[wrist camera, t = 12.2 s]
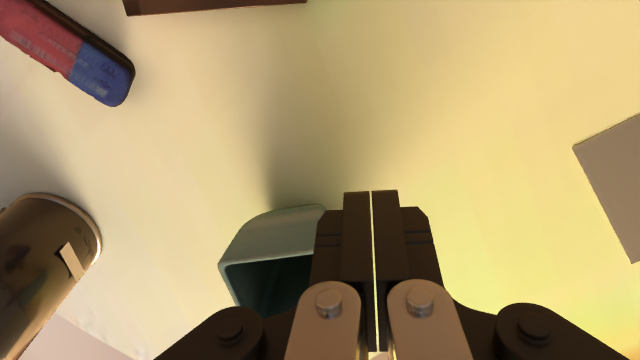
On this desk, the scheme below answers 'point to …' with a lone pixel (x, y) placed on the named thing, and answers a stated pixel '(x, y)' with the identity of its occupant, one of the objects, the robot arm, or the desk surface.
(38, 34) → the eraser
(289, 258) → the flower pot
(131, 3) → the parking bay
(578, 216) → the desk surface
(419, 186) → the desk surface
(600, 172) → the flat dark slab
